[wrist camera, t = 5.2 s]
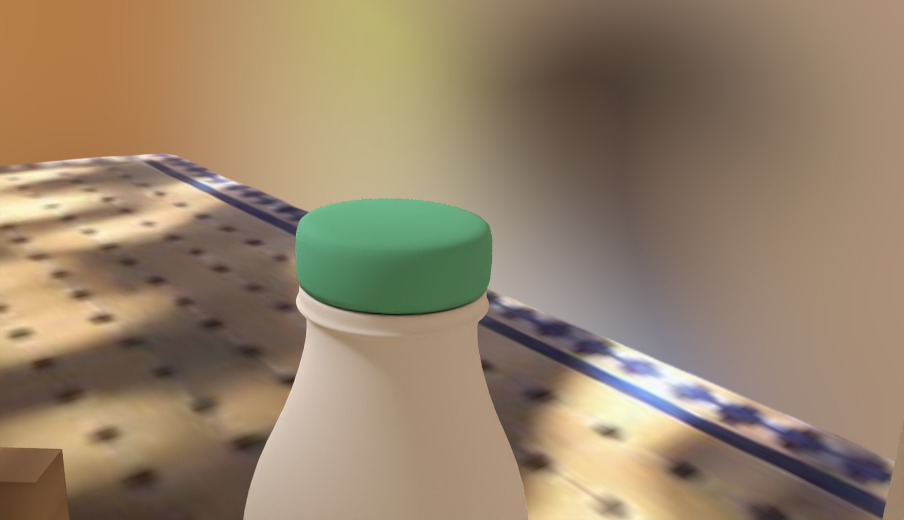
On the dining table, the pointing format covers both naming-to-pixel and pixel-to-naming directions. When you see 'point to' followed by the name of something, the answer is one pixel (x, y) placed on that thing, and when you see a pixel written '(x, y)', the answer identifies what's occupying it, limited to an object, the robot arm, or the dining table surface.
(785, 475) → the dining table surface
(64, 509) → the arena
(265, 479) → the milk bottle
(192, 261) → the dining table surface
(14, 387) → the dining table surface
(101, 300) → the dining table surface
